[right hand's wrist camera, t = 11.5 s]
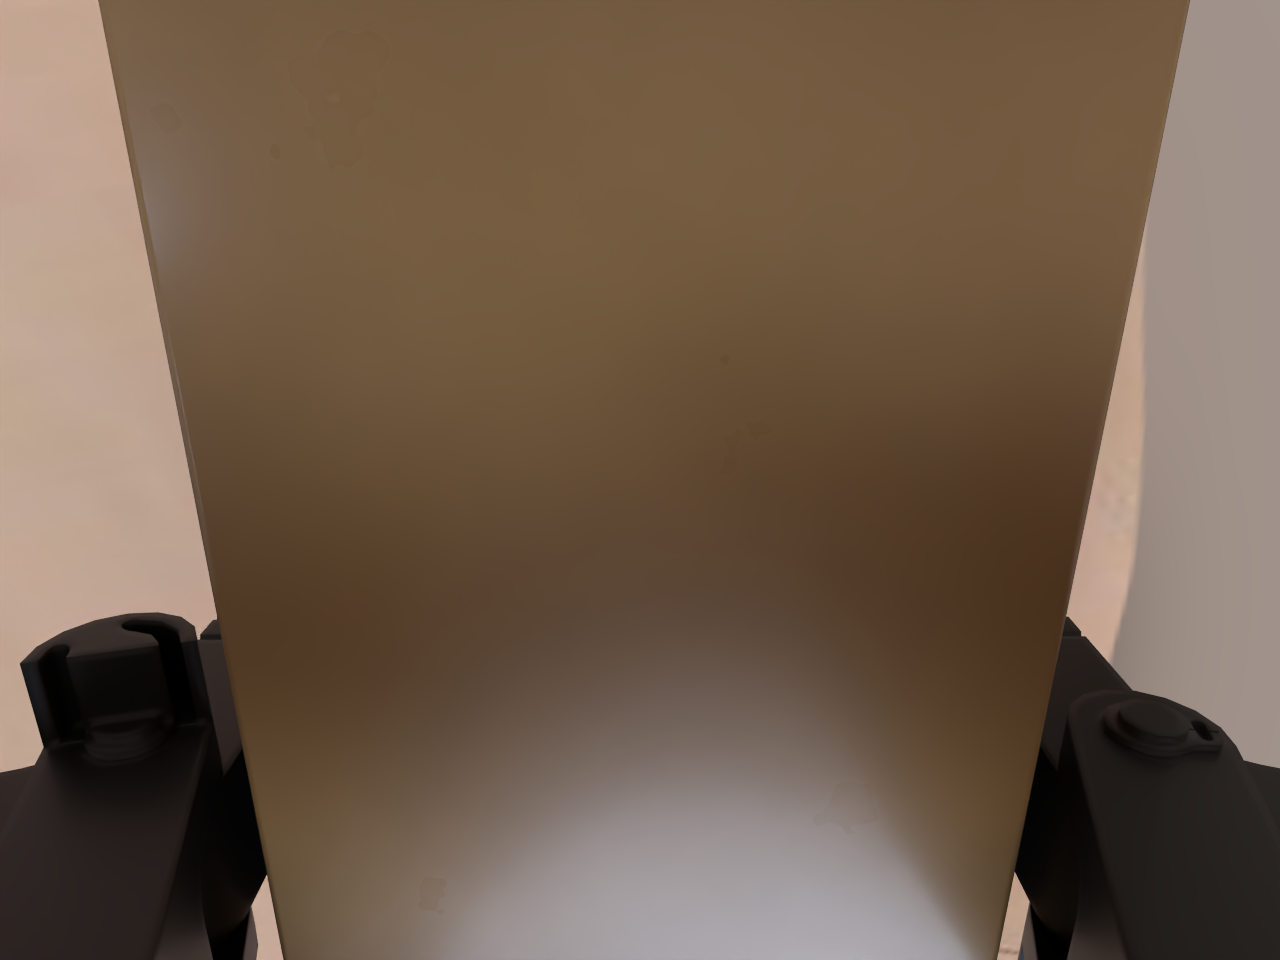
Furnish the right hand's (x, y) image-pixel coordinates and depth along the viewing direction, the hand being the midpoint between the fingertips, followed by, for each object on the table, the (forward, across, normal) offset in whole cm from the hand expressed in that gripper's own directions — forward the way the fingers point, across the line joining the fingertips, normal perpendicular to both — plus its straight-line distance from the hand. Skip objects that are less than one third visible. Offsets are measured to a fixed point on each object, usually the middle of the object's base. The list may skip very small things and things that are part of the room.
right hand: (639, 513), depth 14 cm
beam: (+1, 0, -19) cm, 19 cm away
